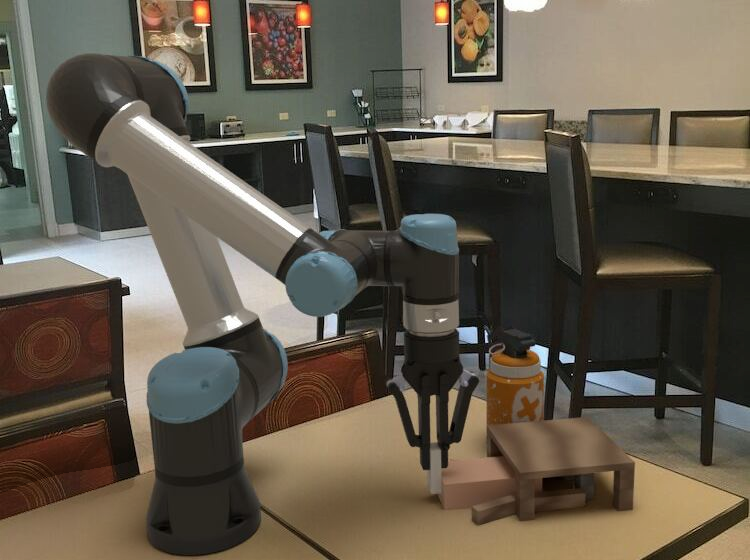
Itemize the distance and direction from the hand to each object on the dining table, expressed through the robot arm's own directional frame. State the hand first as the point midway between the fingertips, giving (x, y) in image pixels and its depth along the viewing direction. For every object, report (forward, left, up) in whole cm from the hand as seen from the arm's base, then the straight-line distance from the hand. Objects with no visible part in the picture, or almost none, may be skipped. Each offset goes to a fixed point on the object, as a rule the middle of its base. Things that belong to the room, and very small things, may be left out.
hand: (434, 488), depth 112 cm
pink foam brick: (+8, 0, -2) cm, 8 cm away
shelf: (+15, 0, -2) cm, 15 cm away
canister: (+16, +15, -2) cm, 22 cm away
